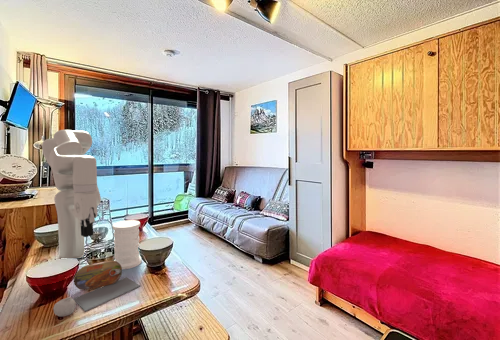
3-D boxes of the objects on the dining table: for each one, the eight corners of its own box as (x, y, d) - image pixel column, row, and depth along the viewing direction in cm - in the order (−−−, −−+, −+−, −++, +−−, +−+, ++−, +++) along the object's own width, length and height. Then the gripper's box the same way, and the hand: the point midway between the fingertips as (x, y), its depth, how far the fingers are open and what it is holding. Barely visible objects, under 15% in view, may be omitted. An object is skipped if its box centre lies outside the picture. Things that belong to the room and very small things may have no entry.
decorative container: (142, 256, 116) (141, 219, 115) (141, 267, 105) (140, 226, 104) (114, 259, 112) (113, 221, 110) (110, 271, 101) (109, 229, 100)
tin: (74, 293, 85) (72, 269, 85) (75, 289, 88) (74, 266, 88) (122, 282, 92) (121, 260, 92) (122, 278, 95) (121, 257, 95)
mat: (73, 299, 82) (73, 298, 82) (126, 277, 96) (126, 276, 96) (85, 311, 76) (85, 310, 76) (140, 286, 90) (140, 285, 90)
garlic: (81, 308, 78) (80, 292, 77) (69, 319, 72) (68, 303, 72) (62, 308, 77) (61, 292, 77) (48, 320, 72) (47, 303, 72)
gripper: (66, 187, 95) (68, 233, 96) (82, 192, 85) (84, 243, 87) (88, 185, 101) (89, 228, 102) (105, 189, 92) (106, 237, 93)
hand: (87, 235), depth 95 cm, fingers closed
